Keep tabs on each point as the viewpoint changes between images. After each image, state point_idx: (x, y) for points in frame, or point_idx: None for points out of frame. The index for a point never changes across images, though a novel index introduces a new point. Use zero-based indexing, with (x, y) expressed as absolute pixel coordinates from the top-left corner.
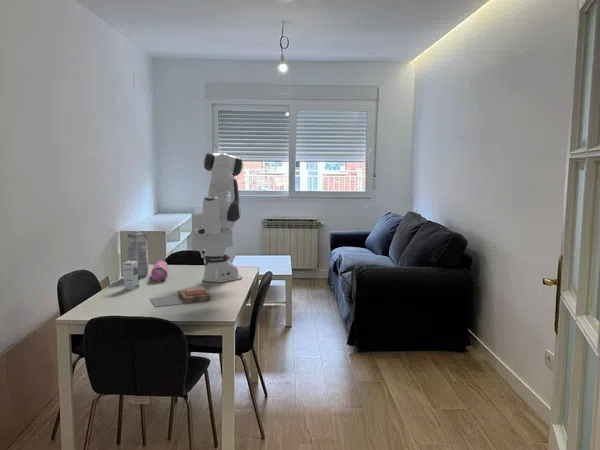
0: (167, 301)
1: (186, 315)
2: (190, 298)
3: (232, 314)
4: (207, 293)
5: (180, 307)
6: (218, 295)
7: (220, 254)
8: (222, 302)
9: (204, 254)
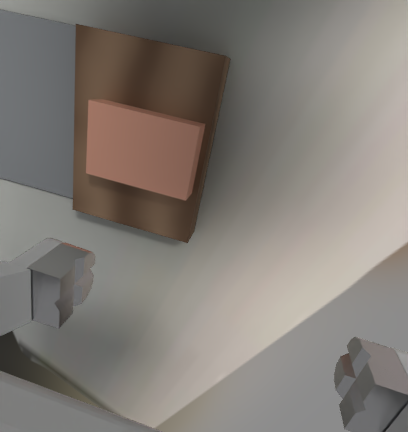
0: (21, 124)
1: None
2: (97, 214)
3: (174, 407)
4: (193, 203)
5: (57, 237)
6: (275, 178)
7: (361, 369)
8: (220, 292)
9: (54, 323)
